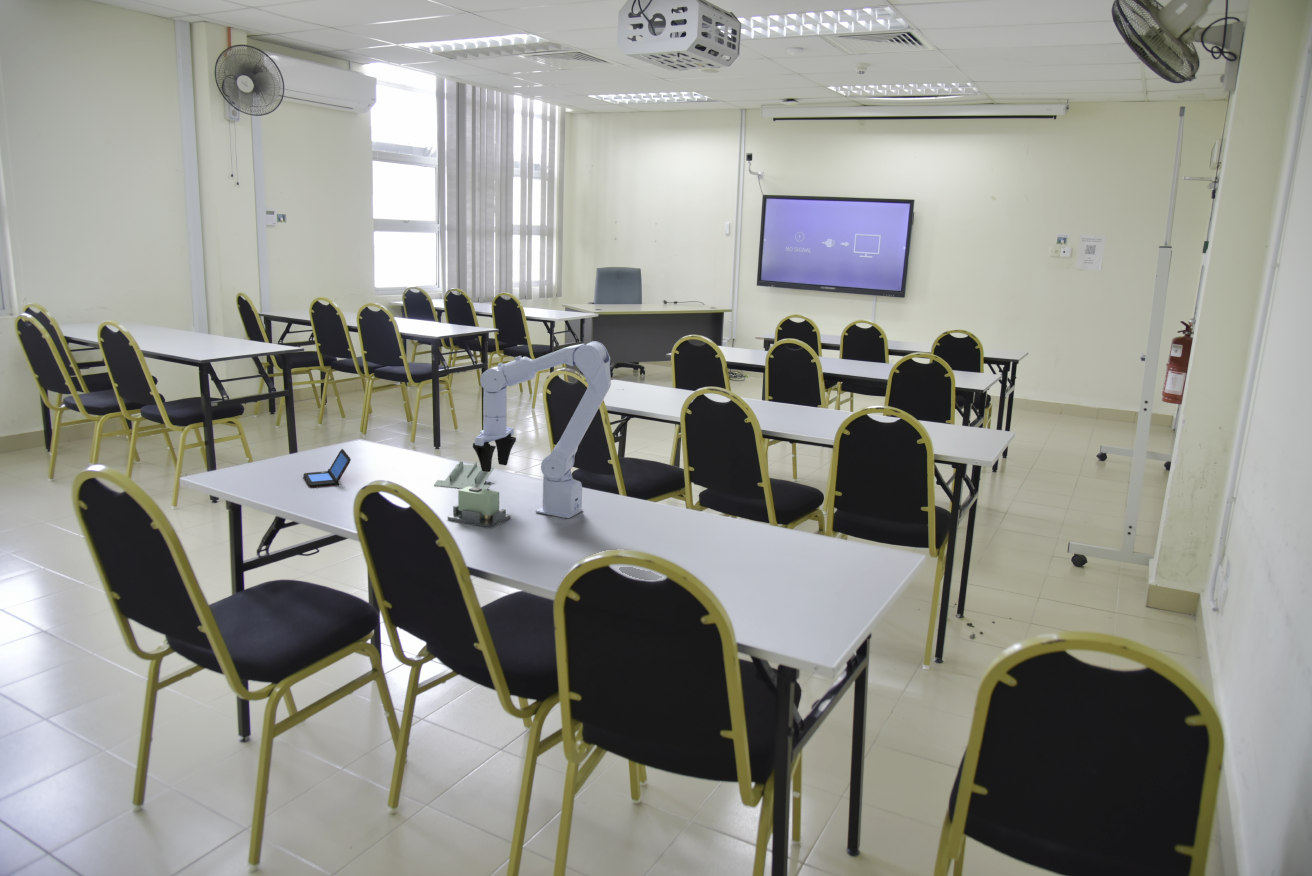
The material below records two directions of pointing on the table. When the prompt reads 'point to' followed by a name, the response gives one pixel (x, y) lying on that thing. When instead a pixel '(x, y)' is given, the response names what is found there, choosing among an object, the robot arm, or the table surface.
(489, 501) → the pale green box
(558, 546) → the table surface
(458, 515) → the chassis
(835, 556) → the table surface
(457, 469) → the metal bracket
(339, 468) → the handheld game console
